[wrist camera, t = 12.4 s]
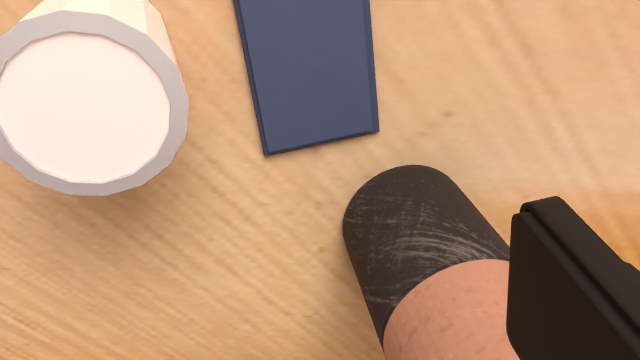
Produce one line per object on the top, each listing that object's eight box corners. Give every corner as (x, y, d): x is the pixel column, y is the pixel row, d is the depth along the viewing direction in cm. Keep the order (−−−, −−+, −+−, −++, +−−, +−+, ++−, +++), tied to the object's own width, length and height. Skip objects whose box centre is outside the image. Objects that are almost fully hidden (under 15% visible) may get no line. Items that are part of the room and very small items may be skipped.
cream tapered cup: (-18, 54, 26) (-72, 129, 20) (77, -76, 24) (49, -38, 18) (124, 143, 29) (114, 229, 23) (216, 34, 27) (230, 97, 21)
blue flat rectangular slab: (353, -185, 24) (357, -184, 23) (377, 129, 31) (380, 133, 31) (201, -162, 23) (202, -161, 23) (263, 153, 31) (265, 159, 30)
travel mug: (323, 268, 36) (463, 676, 19) (355, 152, 32) (563, 533, 15) (441, 272, 38) (659, 642, 21) (483, 165, 34) (786, 509, 18)
